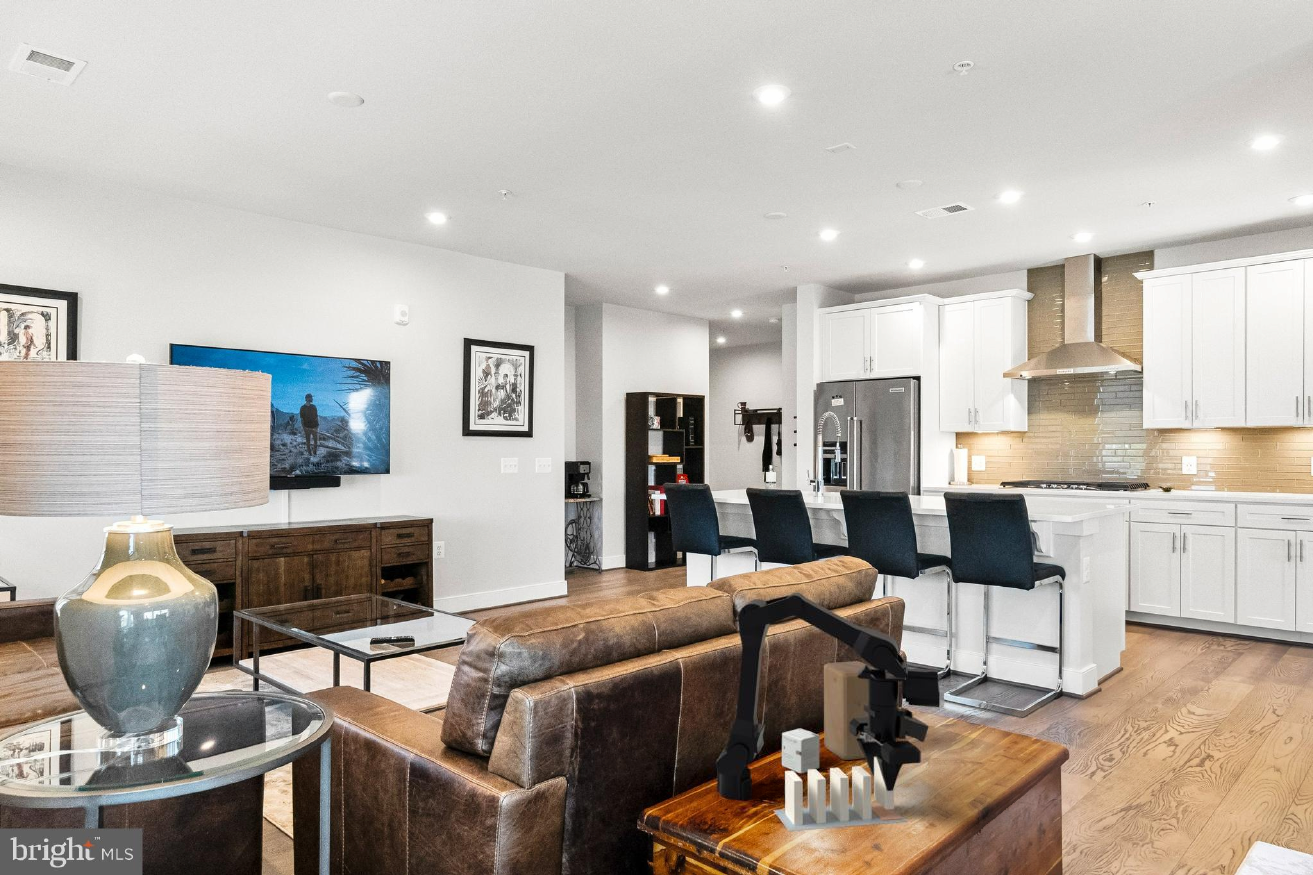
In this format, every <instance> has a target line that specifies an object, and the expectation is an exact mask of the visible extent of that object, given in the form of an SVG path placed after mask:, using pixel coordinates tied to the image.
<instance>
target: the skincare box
mask: <svg viewBox="0 0 1313 875" xmlns="http://www.w3.org/2000/svg"><path fill="white" fill-rule="evenodd" d="M781 736H782V737H781V765H782V767H785V768H787V769H790V770H791V771H794V772H795V773H798V774H805V773H808V770H810V769H816V770H817V769H819V768H820V740H821V739H820V735H819V734H816V733H814V732H812V731H809V730H806V729H803V728H801V727H800V728H796V729H793V730H792V729H791V730H789V731H788V730H787V731H785V732H782V733H781Z"/></svg>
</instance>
